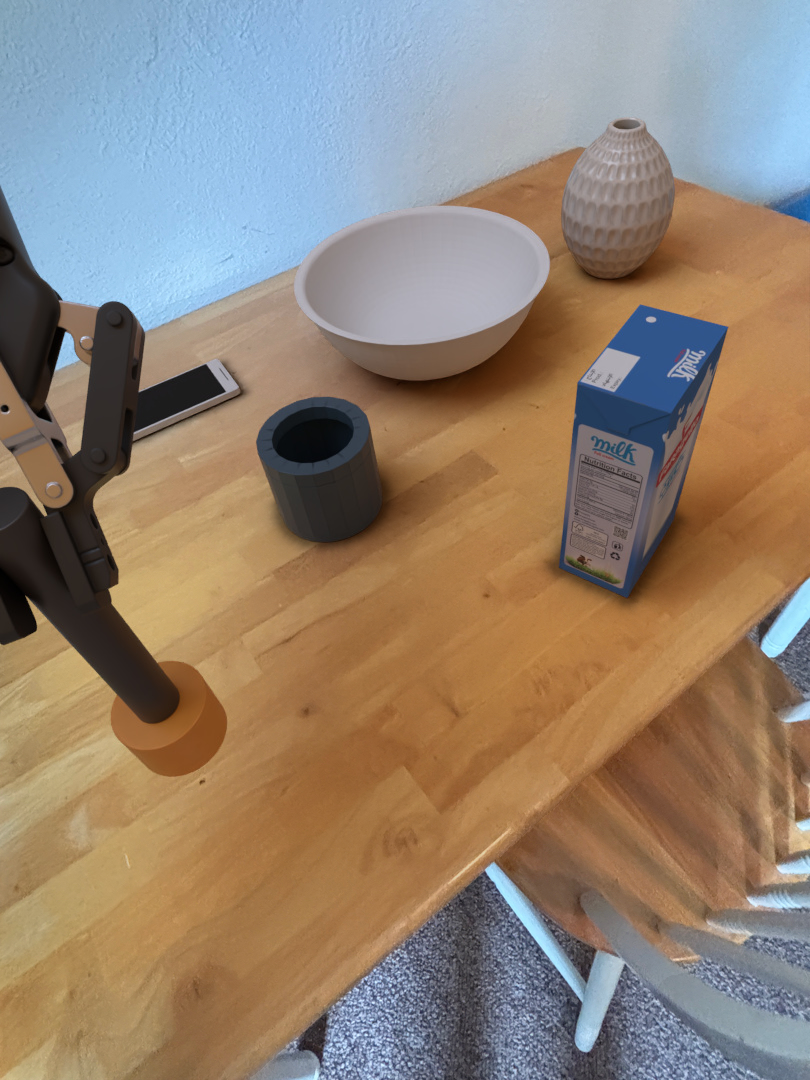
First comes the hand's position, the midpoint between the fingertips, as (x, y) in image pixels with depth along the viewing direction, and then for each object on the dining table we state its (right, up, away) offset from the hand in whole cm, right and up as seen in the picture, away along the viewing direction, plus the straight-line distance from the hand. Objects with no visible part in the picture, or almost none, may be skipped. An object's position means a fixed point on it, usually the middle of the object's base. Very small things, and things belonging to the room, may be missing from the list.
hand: (59, 621), depth 26 cm
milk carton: (+31, +3, +37) cm, 48 cm away
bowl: (+15, +26, +58) cm, 65 cm away
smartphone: (-15, +18, +56) cm, 60 cm away
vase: (+38, +38, +64) cm, 84 cm away
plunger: (+1, -7, +12) cm, 14 cm away
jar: (+5, +7, +43) cm, 44 cm away
